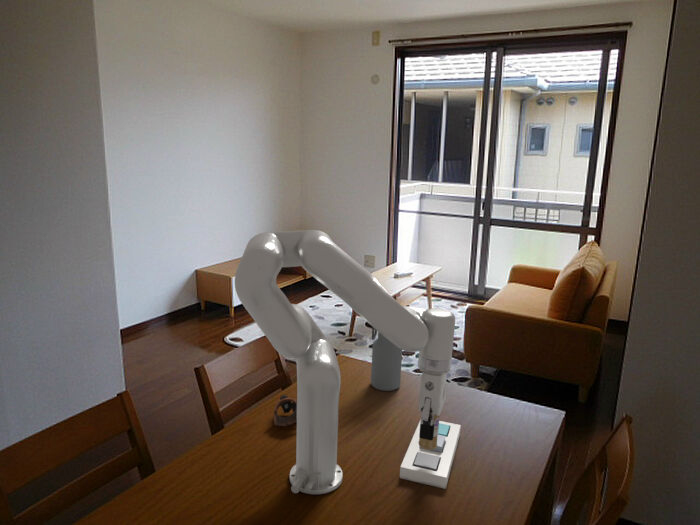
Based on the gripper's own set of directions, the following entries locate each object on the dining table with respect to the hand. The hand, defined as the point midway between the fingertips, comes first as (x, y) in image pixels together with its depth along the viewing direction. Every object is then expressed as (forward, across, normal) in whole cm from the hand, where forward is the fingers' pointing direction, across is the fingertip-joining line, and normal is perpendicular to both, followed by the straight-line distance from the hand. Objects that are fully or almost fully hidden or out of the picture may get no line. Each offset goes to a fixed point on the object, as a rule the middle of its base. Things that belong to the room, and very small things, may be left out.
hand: (428, 432), depth 124 cm
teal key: (+10, +16, 0) cm, 19 cm away
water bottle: (+11, +42, +22) cm, 49 cm away
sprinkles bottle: (+4, 0, 0) cm, 4 cm away
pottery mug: (+12, +10, +41) cm, 43 cm away
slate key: (+9, +8, 0) cm, 12 cm away
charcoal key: (+10, 0, 0) cm, 10 cm away
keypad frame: (+11, +8, 0) cm, 14 cm away
